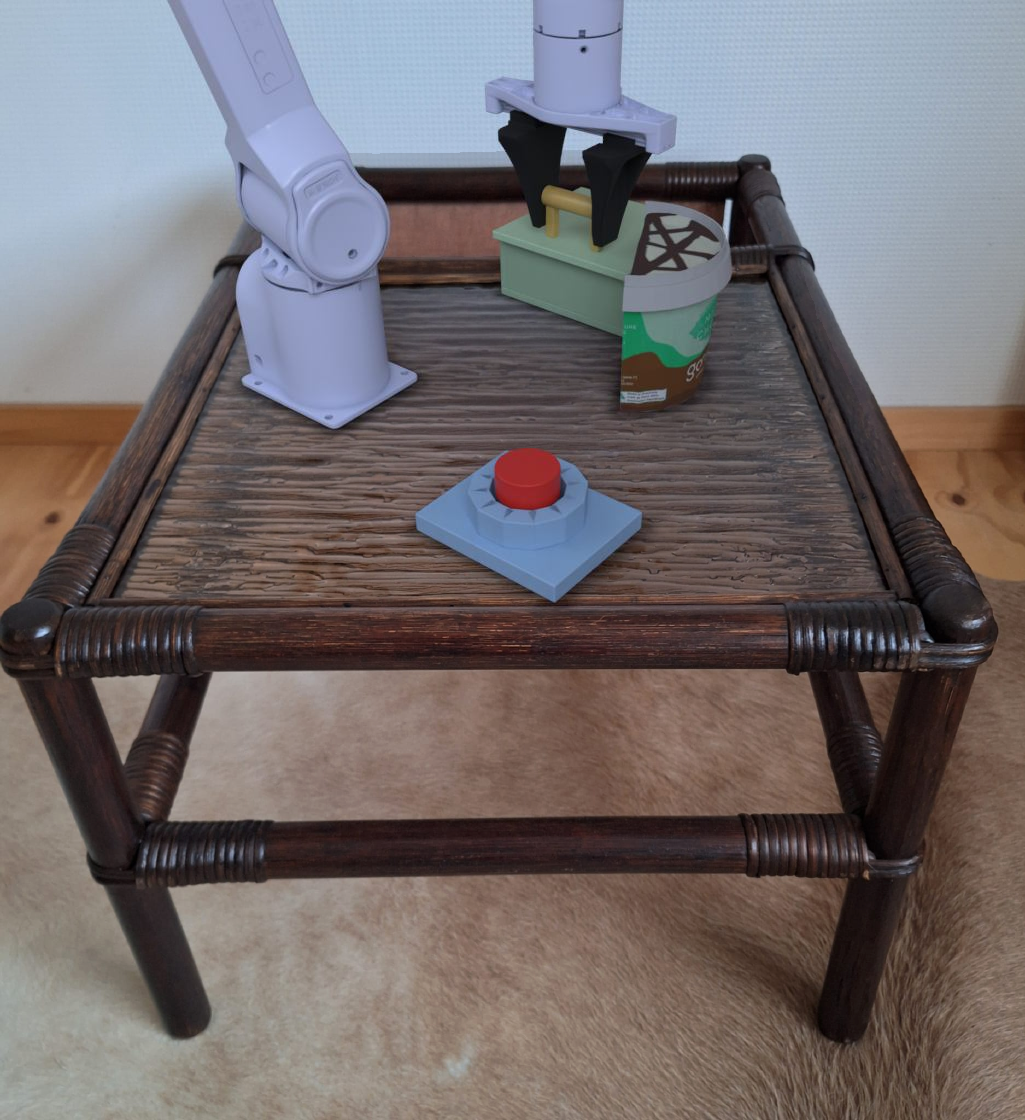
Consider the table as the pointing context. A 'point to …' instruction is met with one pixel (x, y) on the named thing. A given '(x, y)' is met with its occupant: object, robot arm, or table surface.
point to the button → (527, 479)
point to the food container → (670, 306)
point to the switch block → (531, 530)
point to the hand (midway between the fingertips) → (574, 232)
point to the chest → (562, 288)
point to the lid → (577, 233)
